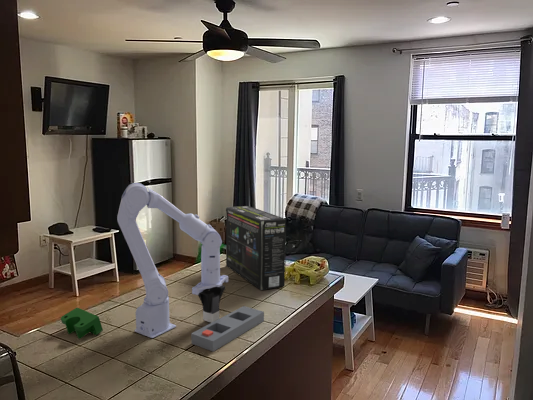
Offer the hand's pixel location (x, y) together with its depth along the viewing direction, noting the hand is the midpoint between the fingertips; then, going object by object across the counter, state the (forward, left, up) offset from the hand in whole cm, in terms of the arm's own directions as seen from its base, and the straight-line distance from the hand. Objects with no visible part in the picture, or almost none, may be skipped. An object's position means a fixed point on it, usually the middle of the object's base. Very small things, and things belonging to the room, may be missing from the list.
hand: (211, 310), depth 137 cm
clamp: (-28, +26, -4) cm, 38 cm away
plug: (0, 0, -3) cm, 3 cm away
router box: (+44, +16, -4) cm, 47 cm away
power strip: (-2, -9, -4) cm, 10 cm away
